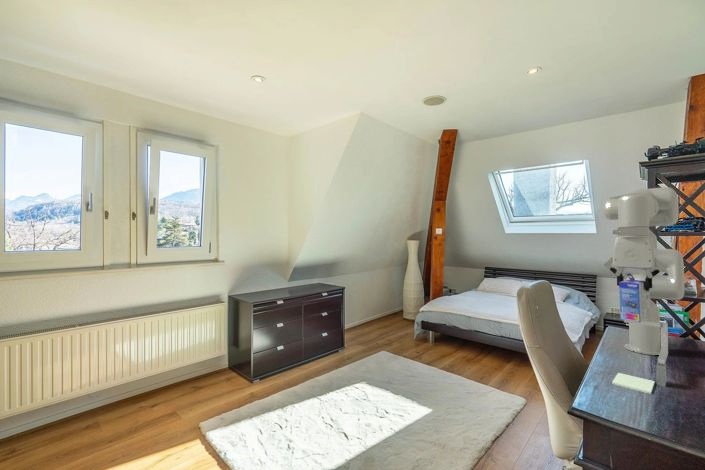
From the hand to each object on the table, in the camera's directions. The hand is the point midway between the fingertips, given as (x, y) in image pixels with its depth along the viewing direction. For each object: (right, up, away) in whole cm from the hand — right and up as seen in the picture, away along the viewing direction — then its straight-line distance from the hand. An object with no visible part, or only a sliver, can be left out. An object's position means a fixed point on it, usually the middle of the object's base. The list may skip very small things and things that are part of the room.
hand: (634, 288), depth 103 cm
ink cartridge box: (0, -10, 0) cm, 10 cm away
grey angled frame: (+10, -24, +7) cm, 27 cm away
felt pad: (-1, -30, -1) cm, 30 cm away
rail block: (+7, -30, -1) cm, 31 cm away
